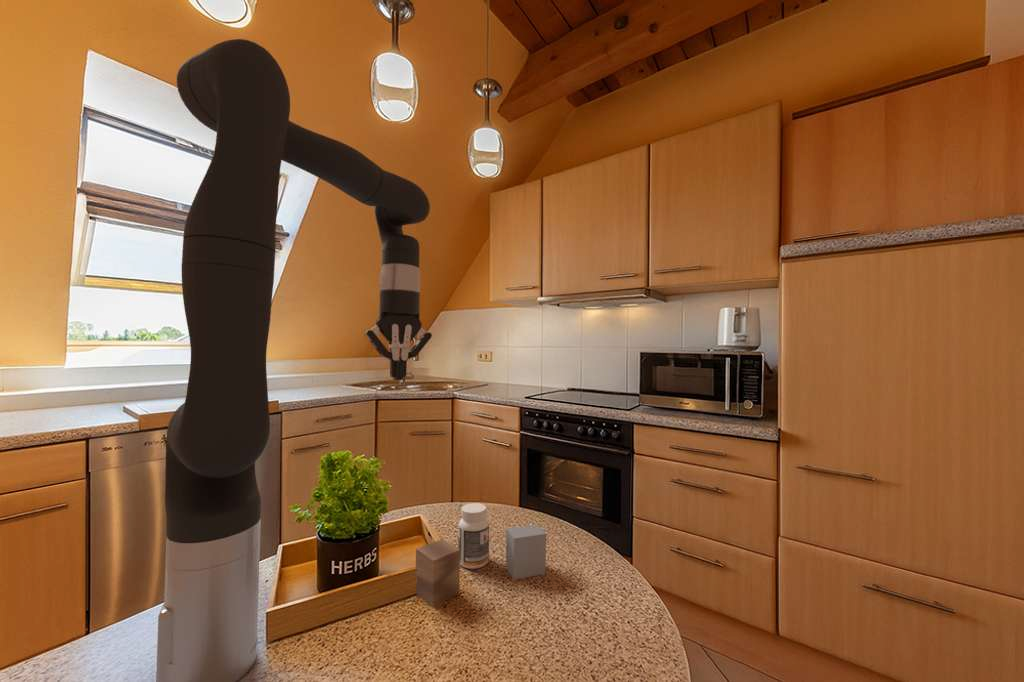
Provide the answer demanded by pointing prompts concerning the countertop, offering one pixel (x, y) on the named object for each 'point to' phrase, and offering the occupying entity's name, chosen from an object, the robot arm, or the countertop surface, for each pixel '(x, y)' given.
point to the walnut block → (437, 572)
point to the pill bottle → (473, 536)
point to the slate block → (525, 551)
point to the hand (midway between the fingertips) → (398, 379)
